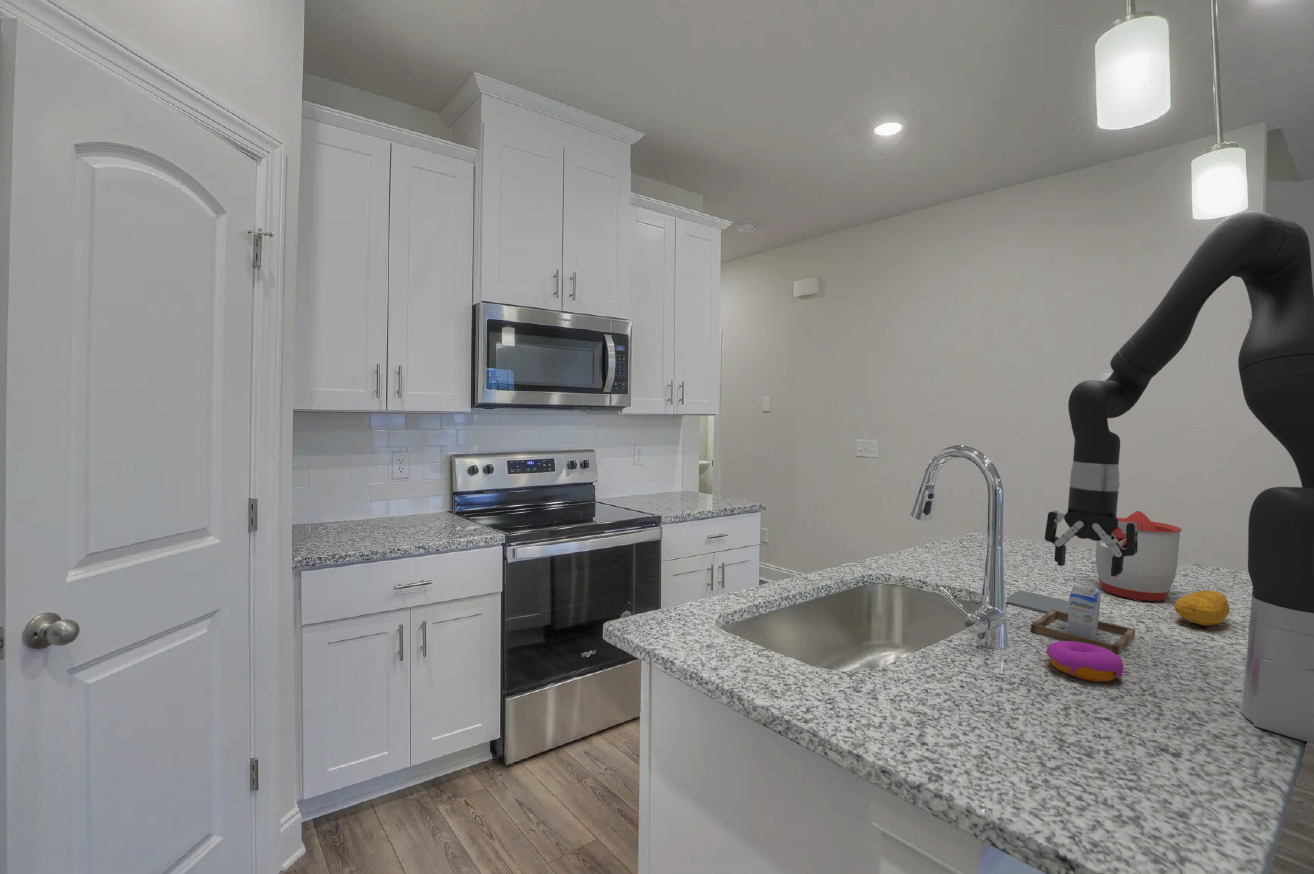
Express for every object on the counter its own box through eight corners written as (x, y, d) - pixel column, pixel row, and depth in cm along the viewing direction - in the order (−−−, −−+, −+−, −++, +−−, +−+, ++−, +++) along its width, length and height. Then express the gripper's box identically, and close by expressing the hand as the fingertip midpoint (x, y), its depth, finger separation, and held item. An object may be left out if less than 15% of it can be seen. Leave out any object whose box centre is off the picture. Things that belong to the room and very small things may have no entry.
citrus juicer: (1070, 587, 147) (1076, 506, 146) (1122, 582, 152) (1128, 504, 151) (1138, 608, 132) (1145, 518, 131) (1193, 602, 138) (1200, 516, 136)
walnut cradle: (1117, 655, 106) (1117, 647, 106) (1030, 631, 116) (1031, 624, 116) (1134, 637, 115) (1135, 629, 115) (1052, 616, 125) (1053, 609, 125)
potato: (1237, 623, 124) (1240, 591, 124) (1214, 636, 117) (1217, 602, 117) (1189, 612, 131) (1191, 581, 131) (1165, 623, 124) (1167, 590, 123)
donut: (1119, 670, 100) (1121, 644, 100) (1124, 694, 92) (1127, 665, 92) (1046, 654, 106) (1048, 629, 106) (1044, 675, 98) (1046, 648, 97)
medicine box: (1070, 626, 120) (1073, 583, 120) (1097, 632, 118) (1101, 588, 117) (1066, 637, 114) (1069, 592, 114) (1095, 643, 111) (1098, 598, 111)
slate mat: (1064, 617, 125) (1064, 615, 125) (1001, 602, 134) (1001, 600, 134) (1080, 606, 133) (1080, 603, 133) (1020, 592, 142) (1020, 590, 142)
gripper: (1044, 483, 117) (1038, 565, 118) (1136, 493, 106) (1128, 583, 107) (1056, 480, 122) (1050, 559, 123) (1145, 489, 111) (1138, 575, 112)
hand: (1087, 570), depth 115 cm, fingers open, 8 cm apart
